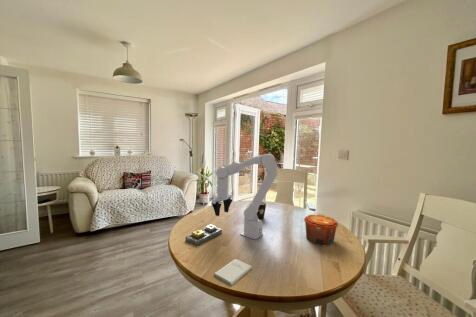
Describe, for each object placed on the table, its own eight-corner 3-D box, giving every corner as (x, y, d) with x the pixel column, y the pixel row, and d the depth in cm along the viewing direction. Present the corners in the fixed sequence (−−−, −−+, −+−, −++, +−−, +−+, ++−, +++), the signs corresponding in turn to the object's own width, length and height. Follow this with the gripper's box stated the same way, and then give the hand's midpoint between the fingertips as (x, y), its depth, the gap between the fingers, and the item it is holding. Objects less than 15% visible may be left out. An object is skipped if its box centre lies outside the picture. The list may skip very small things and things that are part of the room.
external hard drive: (213, 277, 74) (235, 261, 84) (231, 287, 69) (251, 269, 79) (213, 272, 74) (235, 258, 84) (231, 282, 69) (251, 265, 79)
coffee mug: (265, 215, 138) (266, 201, 137) (265, 220, 130) (266, 205, 129) (248, 214, 139) (248, 200, 138) (247, 219, 131) (247, 204, 130)
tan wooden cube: (203, 239, 102) (204, 231, 101) (198, 242, 98) (198, 234, 98) (198, 237, 104) (198, 229, 104) (192, 240, 101) (192, 232, 100)
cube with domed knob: (215, 233, 109) (216, 225, 109) (210, 236, 106) (211, 228, 105) (210, 231, 111) (210, 224, 111) (205, 234, 108) (205, 226, 108)
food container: (333, 235, 111) (334, 216, 110) (339, 250, 95) (341, 227, 95) (302, 231, 115) (303, 212, 114) (303, 244, 100) (305, 222, 99)
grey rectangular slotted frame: (221, 232, 110) (222, 229, 110) (197, 245, 95) (197, 241, 95) (210, 228, 114) (210, 225, 114) (185, 240, 100) (185, 236, 100)
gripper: (225, 186, 119) (224, 209, 120) (207, 190, 107) (207, 215, 108) (234, 187, 115) (234, 211, 116) (218, 192, 103) (217, 218, 104)
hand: (221, 213), depth 112 cm, fingers open, 7 cm apart
